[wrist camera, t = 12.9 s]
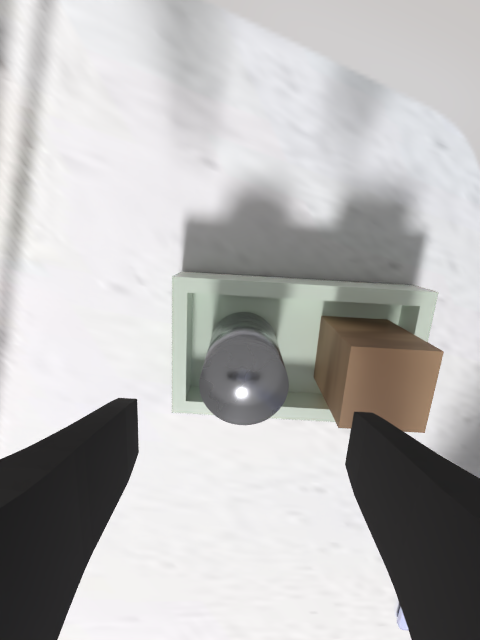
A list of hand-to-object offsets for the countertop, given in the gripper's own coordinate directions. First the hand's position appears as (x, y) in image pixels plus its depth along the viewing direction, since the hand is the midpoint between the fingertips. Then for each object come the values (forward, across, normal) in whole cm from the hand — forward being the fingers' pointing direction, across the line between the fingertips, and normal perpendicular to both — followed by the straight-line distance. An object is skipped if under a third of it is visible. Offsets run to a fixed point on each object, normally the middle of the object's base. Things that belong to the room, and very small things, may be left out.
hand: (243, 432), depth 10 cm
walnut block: (+9, -6, 0) cm, 11 cm away
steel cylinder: (+9, 0, 0) cm, 9 cm away
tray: (+10, -3, 0) cm, 10 cm away
